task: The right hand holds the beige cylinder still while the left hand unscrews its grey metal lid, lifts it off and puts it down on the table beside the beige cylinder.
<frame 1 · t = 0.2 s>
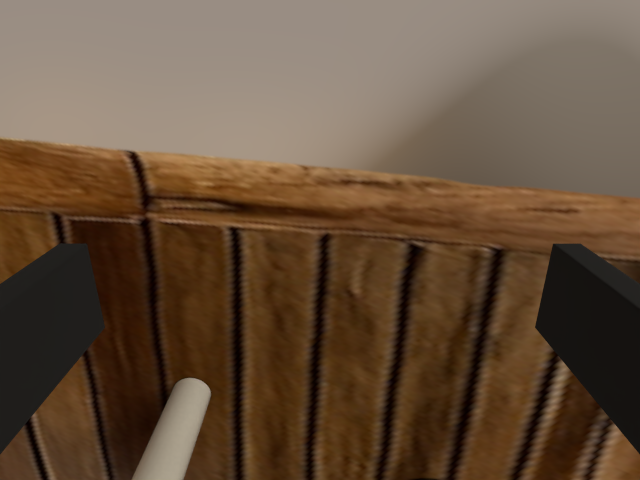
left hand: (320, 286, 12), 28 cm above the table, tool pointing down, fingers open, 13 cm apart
beige cylinder: (192, 392, 49), on the table
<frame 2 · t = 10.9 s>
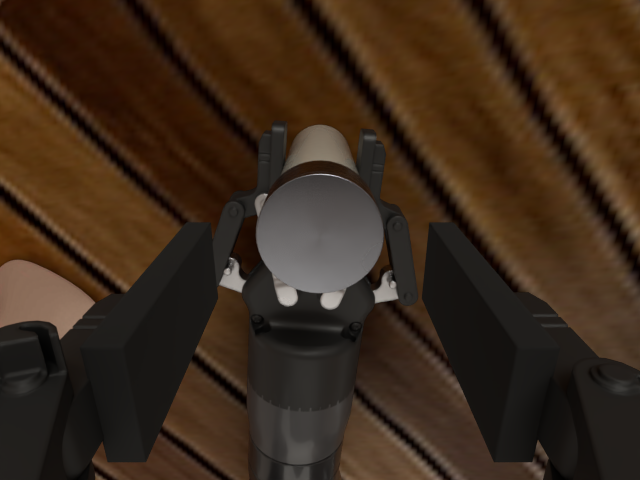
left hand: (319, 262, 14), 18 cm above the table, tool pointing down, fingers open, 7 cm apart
right hand: (323, 128, 24), fingers closed on beige cylinder, 4 cm apart
lid: (319, 233, 16), point 16 cm above the table, screwed on, not yet turned
anatomical model: (46, 334, 36), on the table
beige cylinder: (319, 155, 31), on the table, touching right hand
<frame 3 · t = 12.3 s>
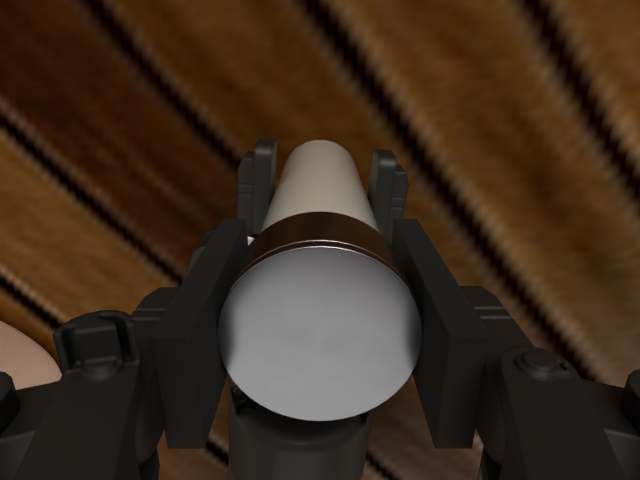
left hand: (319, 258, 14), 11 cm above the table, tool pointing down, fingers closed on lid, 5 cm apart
lid: (319, 333, 10), point 16 cm above the table, screwed on, not yet turned, touching left hand
beige cylinder: (320, 177, 25), on the table, touching right hand
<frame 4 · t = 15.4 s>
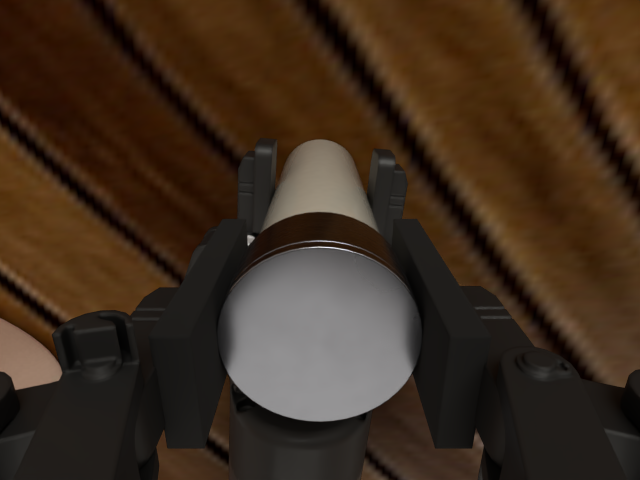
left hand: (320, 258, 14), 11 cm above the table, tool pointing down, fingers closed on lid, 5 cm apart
lid: (319, 333, 10), point 16 cm above the table, turned 77° so far, risen 0.2 cm, still on its thread, touching left hand
beige cylinder: (319, 177, 25), on the table, touching right hand
when the left hand's fingers open (0 cm above the table, at t = 21.9 s): lid drops 2 cm, point 2 cm above the table.
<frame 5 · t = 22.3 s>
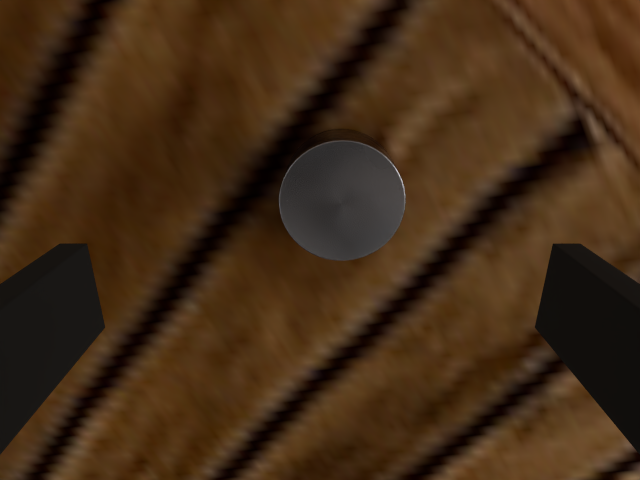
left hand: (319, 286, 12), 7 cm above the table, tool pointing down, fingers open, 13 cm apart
lid: (341, 201, 17), point 2 cm above the table, off its thread
when the right hand's fingers open (6 cm above the table, at t = 22.5 s): beige cylinder stays where it is, on the table.
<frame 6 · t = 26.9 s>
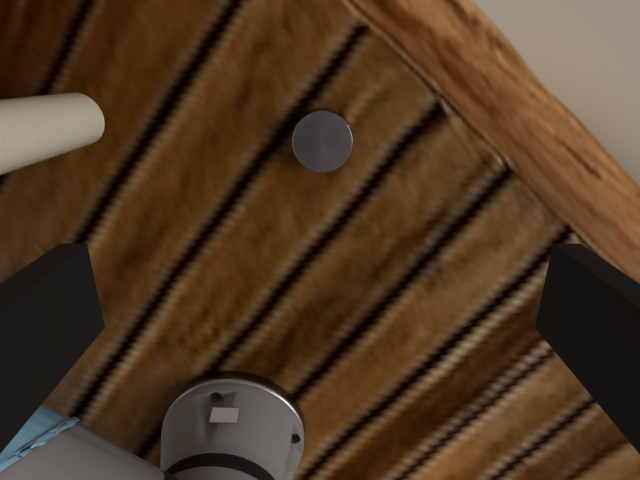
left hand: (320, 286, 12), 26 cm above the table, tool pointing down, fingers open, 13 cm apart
lid: (322, 141, 34), point 2 cm above the table, off its thread
beige cylinder: (78, 119, 36), on the table
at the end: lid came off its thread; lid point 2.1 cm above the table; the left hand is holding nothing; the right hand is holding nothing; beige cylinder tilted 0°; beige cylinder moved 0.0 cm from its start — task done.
